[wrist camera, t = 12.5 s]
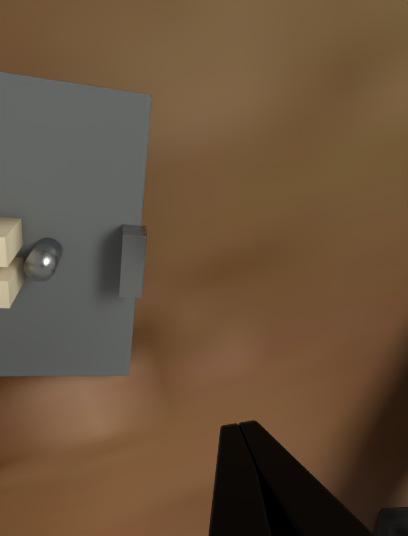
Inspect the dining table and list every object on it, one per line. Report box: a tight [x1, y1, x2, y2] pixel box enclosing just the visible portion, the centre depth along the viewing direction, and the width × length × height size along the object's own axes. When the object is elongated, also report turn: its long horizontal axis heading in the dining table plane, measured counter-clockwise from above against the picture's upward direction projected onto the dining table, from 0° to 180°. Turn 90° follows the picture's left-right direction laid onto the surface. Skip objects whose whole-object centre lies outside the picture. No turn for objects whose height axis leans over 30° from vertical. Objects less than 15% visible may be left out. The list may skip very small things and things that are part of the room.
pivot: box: [24, 224, 147, 298], centre depth 17 cm, size 5×3×2 cm, turn 82°
